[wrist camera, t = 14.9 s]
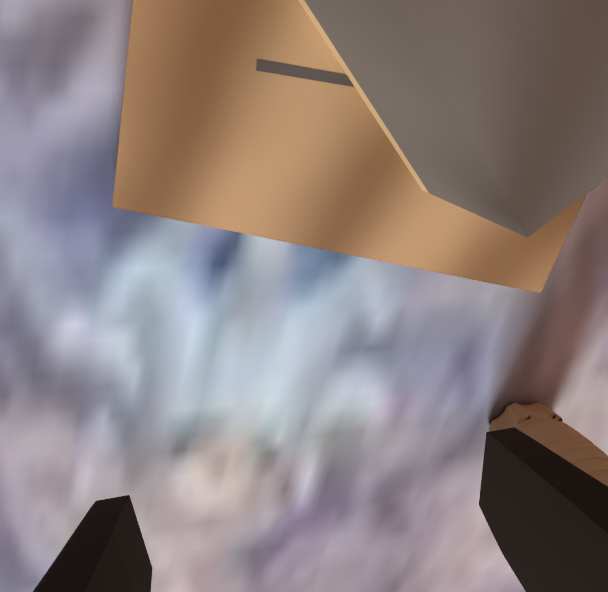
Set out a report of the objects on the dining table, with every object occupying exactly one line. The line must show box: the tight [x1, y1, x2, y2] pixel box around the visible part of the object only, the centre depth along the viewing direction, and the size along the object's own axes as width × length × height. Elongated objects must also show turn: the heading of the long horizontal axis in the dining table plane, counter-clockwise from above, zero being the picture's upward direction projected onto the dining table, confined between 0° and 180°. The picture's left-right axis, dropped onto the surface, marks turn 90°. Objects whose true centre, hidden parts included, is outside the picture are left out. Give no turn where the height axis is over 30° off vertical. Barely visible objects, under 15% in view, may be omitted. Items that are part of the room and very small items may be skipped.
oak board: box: [112, 0, 587, 293], centre depth 15 cm, size 16×12×1 cm
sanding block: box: [298, 0, 608, 237], centre depth 11 cm, size 8×5×6 cm, turn 38°
